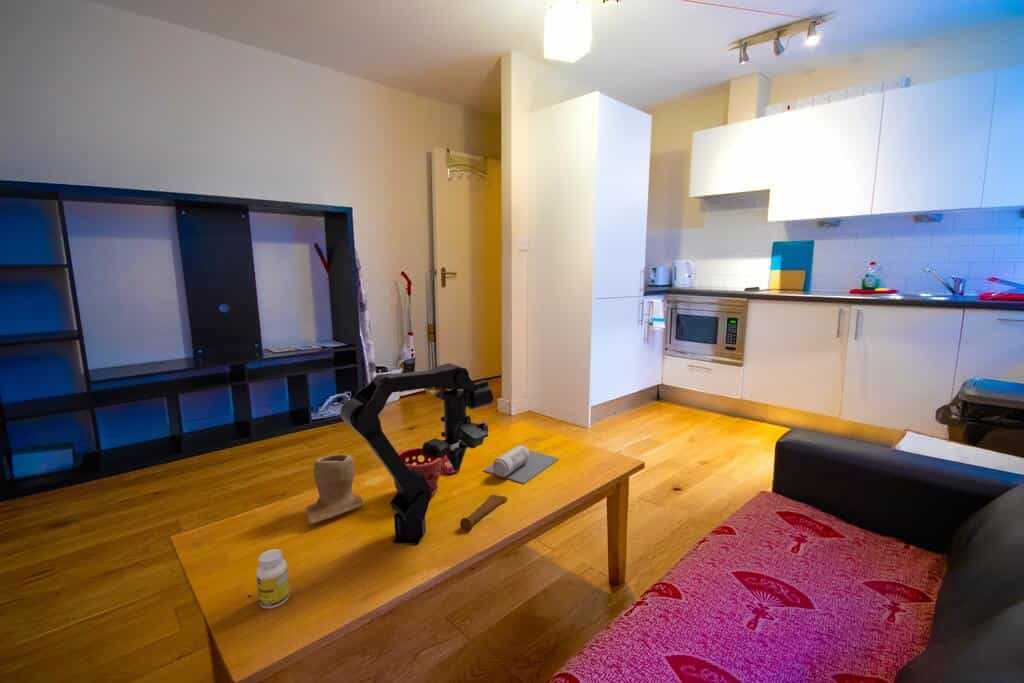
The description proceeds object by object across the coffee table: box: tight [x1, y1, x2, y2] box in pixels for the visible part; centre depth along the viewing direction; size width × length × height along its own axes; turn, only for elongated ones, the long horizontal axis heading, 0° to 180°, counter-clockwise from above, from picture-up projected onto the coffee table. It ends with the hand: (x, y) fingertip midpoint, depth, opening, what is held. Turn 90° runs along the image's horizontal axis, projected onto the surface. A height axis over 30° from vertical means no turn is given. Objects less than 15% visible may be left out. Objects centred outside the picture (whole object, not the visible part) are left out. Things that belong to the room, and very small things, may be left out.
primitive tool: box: [459, 494, 509, 532], centre depth 119 cm, size 19×6×4 cm, turn 156°
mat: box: [482, 449, 560, 485], centre depth 149 cm, size 22×16×1 cm
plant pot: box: [398, 447, 442, 497], centre depth 129 cm, size 13×13×12 cm
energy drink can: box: [492, 445, 531, 478], centre depth 144 cm, size 6×6×15 cm
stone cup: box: [305, 453, 364, 525], centre depth 120 cm, size 15×12×15 cm
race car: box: [441, 456, 460, 475], centre depth 148 cm, size 13×5×4 cm, turn 17°
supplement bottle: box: [255, 548, 291, 609], centre depth 87 cm, size 5×5×10 cm
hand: (456, 470), depth 116 cm, fingers closed
